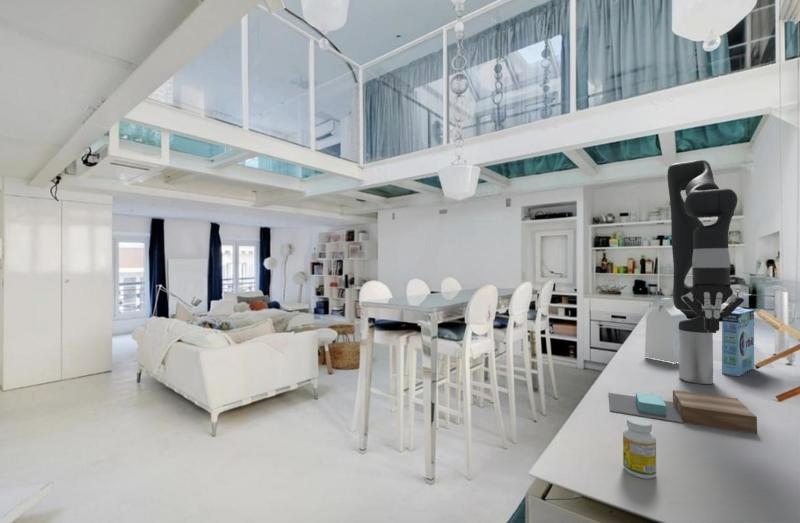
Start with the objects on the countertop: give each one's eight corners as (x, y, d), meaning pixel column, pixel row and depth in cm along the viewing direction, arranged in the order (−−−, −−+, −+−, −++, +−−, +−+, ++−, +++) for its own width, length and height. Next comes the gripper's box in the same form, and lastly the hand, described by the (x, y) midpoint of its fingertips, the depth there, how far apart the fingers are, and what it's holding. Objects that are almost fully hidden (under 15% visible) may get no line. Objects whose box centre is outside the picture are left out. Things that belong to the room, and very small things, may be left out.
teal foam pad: (660, 395, 104) (660, 404, 104) (635, 391, 107) (635, 400, 107) (666, 405, 96) (666, 415, 96) (639, 401, 99) (639, 411, 99)
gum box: (738, 366, 146) (737, 308, 147) (755, 369, 142) (755, 309, 142) (721, 373, 136) (720, 311, 136) (739, 377, 131) (738, 313, 132)
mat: (608, 393, 114) (608, 392, 114) (672, 402, 106) (672, 401, 106) (610, 411, 100) (610, 410, 100) (683, 423, 92) (683, 422, 92)
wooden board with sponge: (672, 404, 105) (672, 389, 105) (737, 413, 99) (736, 398, 99) (682, 422, 93) (682, 406, 93) (757, 434, 86) (756, 417, 87)
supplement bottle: (654, 483, 67) (654, 429, 67) (620, 472, 70) (620, 421, 70) (657, 470, 71) (657, 420, 71) (625, 461, 74) (625, 413, 74)
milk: (674, 364, 148) (674, 300, 148) (644, 358, 158) (644, 298, 159) (690, 361, 154) (689, 299, 154) (660, 355, 164) (659, 297, 164)
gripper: (739, 265, 96) (740, 332, 96) (676, 266, 103) (677, 328, 103) (749, 266, 90) (750, 337, 90) (682, 266, 96) (682, 332, 96)
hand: (711, 332), depth 96 cm, fingers closed
